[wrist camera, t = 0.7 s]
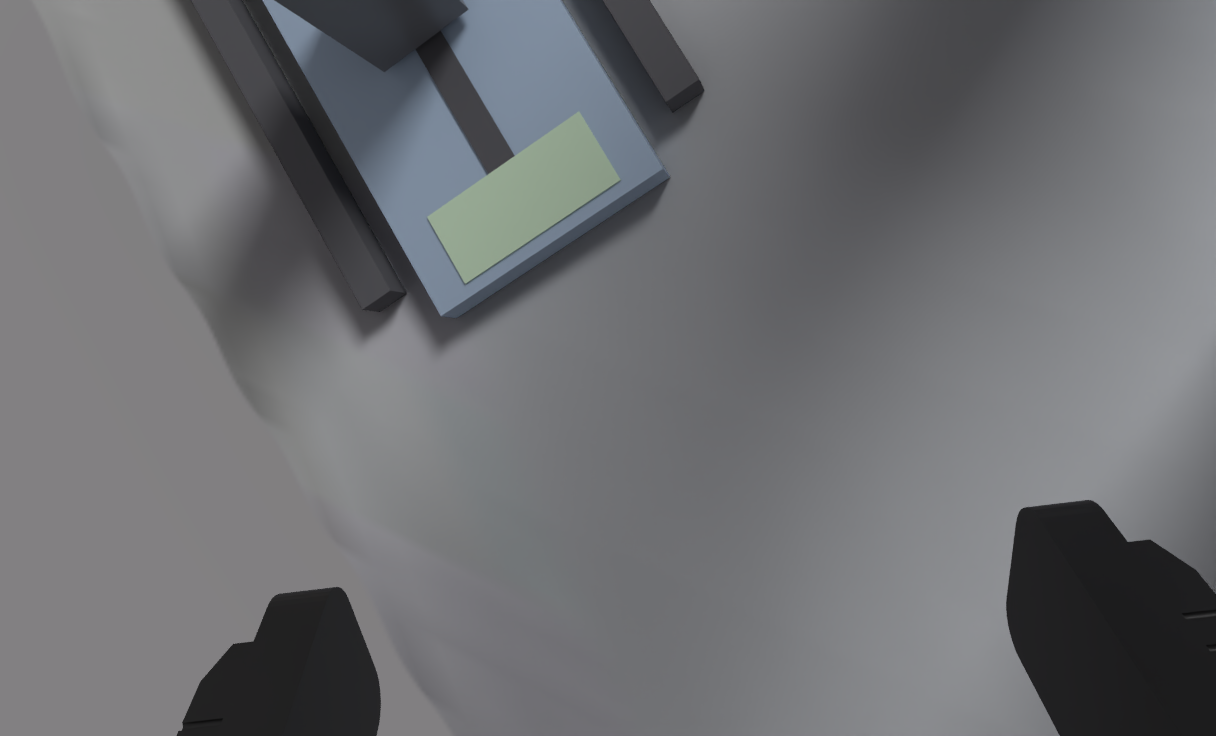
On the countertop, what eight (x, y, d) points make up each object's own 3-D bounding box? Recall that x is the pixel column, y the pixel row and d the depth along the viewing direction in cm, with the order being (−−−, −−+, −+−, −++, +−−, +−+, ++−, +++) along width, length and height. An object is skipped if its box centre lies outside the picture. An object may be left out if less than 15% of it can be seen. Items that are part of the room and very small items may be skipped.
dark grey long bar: (406, 293, 37) (390, 290, 35) (379, 311, 37) (362, 309, 36) (205, -66, 39) (182, -82, 38) (180, -46, 39) (157, -61, 38)
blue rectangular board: (670, 177, 34) (662, 168, 33) (456, 318, 36) (439, 315, 35) (391, -279, 37) (371, -307, 35) (206, -123, 39) (180, -143, 37)
